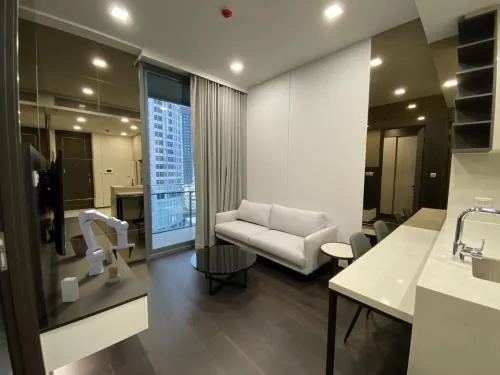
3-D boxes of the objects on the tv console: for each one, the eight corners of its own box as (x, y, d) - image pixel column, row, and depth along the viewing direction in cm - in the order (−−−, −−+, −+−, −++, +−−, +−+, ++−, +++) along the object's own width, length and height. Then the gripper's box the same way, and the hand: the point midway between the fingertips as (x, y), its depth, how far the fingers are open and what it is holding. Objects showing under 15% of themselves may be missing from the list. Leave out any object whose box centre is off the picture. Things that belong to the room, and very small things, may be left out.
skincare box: (79, 297, 121) (78, 276, 120) (73, 302, 116) (72, 280, 115) (67, 298, 120) (66, 276, 119) (61, 302, 115) (60, 280, 115)
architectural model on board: (112, 263, 168) (112, 250, 167) (108, 264, 166) (107, 251, 165) (110, 258, 176) (109, 247, 176) (105, 259, 174) (105, 248, 174)
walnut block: (109, 276, 140) (109, 267, 140) (117, 274, 143) (117, 266, 142) (109, 278, 136) (108, 270, 136) (117, 277, 139) (117, 268, 139)
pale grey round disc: (106, 279, 141) (106, 275, 141) (120, 276, 146) (120, 272, 145) (106, 285, 134) (106, 280, 134) (121, 281, 139) (121, 277, 139)
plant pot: (97, 252, 190) (96, 234, 189) (82, 258, 175) (81, 239, 174) (81, 251, 191) (80, 233, 190) (65, 258, 177) (64, 238, 175)
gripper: (109, 242, 141) (110, 263, 142) (134, 239, 149) (135, 258, 150) (109, 240, 147) (110, 259, 148) (134, 236, 155) (134, 255, 155)
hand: (123, 258), depth 149 cm, fingers open, 7 cm apart
